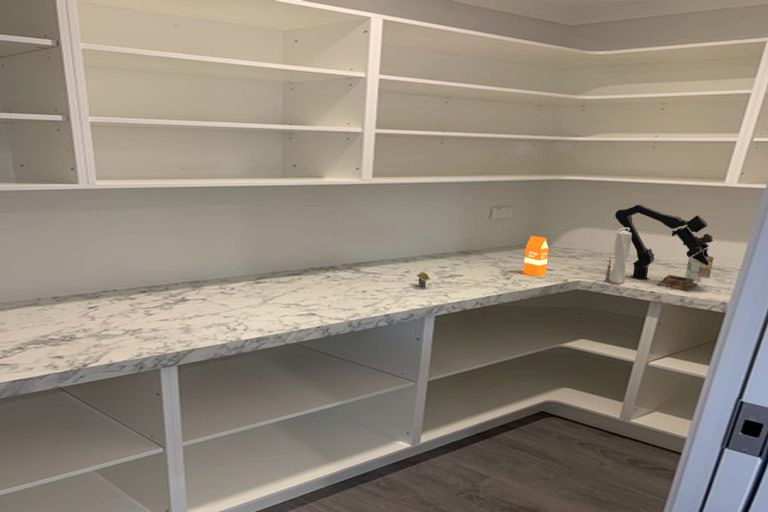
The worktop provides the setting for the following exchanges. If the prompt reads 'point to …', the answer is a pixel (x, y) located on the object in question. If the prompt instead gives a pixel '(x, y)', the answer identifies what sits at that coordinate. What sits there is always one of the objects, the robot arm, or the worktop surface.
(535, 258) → the orange juice
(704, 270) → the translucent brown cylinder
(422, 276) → the olive brown upright piece
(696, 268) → the syrup box
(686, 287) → the walnut dock
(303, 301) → the worktop surface
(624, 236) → the skyscraper
